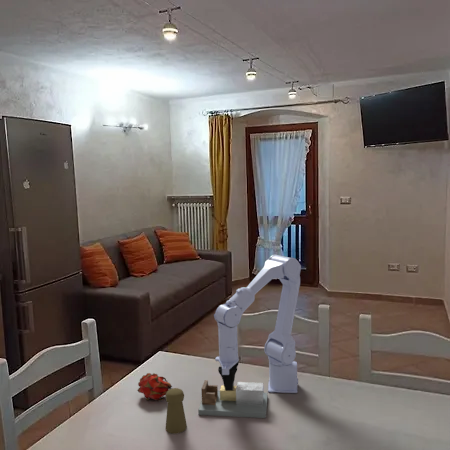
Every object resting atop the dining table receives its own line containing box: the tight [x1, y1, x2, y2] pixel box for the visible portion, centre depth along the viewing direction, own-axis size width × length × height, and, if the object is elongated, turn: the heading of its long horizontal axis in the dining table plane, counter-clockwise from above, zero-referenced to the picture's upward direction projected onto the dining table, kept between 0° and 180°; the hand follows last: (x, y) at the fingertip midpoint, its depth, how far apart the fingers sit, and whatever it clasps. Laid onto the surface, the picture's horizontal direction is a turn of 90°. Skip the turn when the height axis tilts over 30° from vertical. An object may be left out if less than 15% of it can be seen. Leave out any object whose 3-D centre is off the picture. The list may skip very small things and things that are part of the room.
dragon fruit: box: [136, 372, 173, 402], centre depth 139 cm, size 8×8×12 cm
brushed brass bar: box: [219, 381, 237, 401], centre depth 132 cm, size 12×3×7 cm, turn 82°
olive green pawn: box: [164, 387, 188, 435], centre depth 121 cm, size 6×6×11 cm
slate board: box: [197, 390, 268, 419], centre depth 133 cm, size 20×12×2 cm, turn 82°
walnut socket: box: [201, 379, 219, 405], centre depth 133 cm, size 4×6×5 cm
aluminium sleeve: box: [236, 381, 265, 407], centre depth 132 cm, size 8×5×5 cm, turn 82°
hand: (229, 386), depth 132 cm, fingers closed on brushed brass bar, 2 cm apart
